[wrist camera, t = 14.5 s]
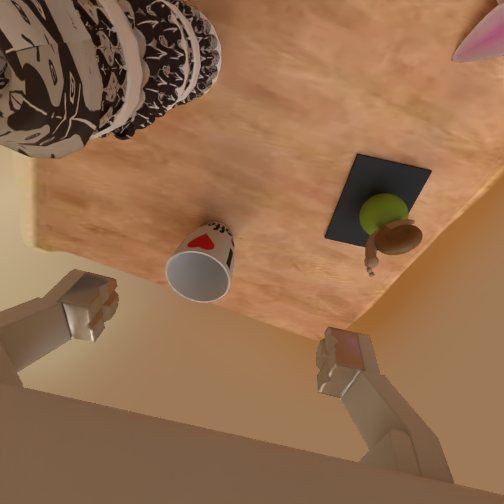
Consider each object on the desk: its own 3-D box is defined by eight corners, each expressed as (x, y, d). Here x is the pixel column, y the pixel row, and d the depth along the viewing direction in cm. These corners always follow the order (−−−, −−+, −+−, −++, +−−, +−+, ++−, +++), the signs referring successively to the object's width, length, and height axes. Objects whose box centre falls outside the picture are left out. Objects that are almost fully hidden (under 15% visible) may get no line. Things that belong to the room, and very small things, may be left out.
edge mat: (357, 153, 35) (358, 154, 35) (430, 170, 35) (432, 171, 35) (324, 236, 42) (325, 238, 42) (386, 250, 42) (386, 252, 42)
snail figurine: (342, 202, 38) (357, 255, 28) (392, 178, 36) (428, 227, 26) (358, 234, 40) (378, 292, 31) (406, 213, 38) (445, 270, 28)
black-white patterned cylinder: (213, -15, 28) (-15, -193, 7) (234, 93, 33) (132, 163, 12) (127, 10, 30) (-239, -79, 9) (160, 108, 35) (-35, 190, 14)
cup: (253, 232, 43) (242, 275, 35) (224, 266, 47) (209, 311, 39) (205, 201, 41) (183, 238, 33) (180, 239, 45) (154, 281, 37)
